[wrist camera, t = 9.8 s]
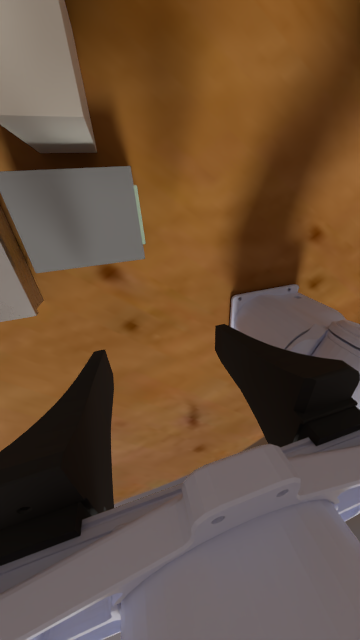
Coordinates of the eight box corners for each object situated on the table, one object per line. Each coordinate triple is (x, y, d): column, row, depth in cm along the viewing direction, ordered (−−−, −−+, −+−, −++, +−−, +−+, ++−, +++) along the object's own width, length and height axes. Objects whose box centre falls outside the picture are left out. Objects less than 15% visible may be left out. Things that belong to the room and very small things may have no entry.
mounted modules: (68, -230, 9) (37, -492, 6) (143, 249, 20) (148, 258, 16) (-168, -303, 8) (-404, -725, 4) (51, 261, 18) (35, 273, 15)
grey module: (71, 29, 12) (29, -135, 7) (97, 152, 15) (83, 117, 10) (-7, 21, 12) (-139, -176, 6) (35, 153, 15) (-22, 114, 9)
